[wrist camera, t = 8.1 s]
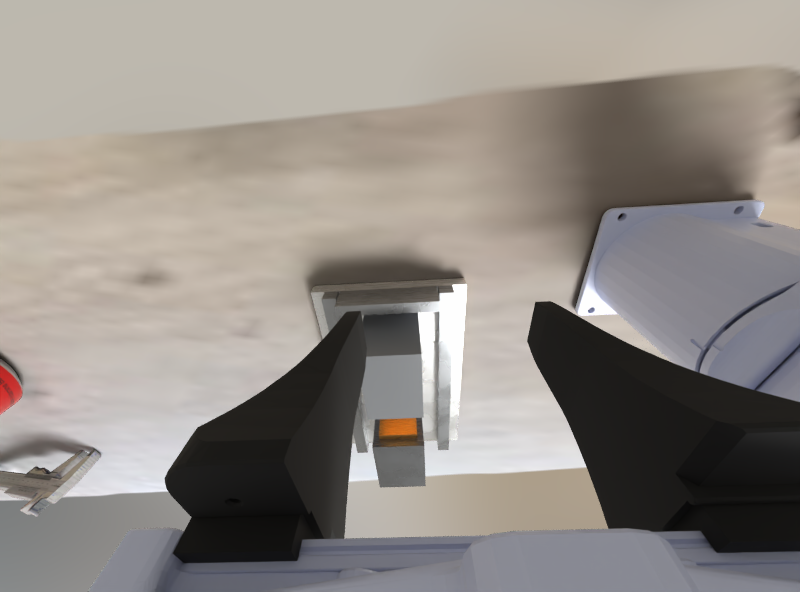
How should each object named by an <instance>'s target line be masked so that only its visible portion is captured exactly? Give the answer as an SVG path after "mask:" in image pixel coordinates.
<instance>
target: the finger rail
mask: <svg viewBox="0 0 800 592" xmlns="http://www.w3.org/2000/svg"><path fill="white" fill-rule="evenodd" d="M466 290H467V284H466V281H465V279H464V278H452V279H433V280H415V281H396V282H377V283H359V284H340V285H321V286H314V287H313V289H312V291H311V296H312V300H313V304H314V308H315V311H316V315H317V319H318V323H319V327H320V331H321V335H322V339H324V337H325V336H326V335H327V334H328V333H329V332H330V331H331V329H332V328H333V327H334V326H335V325H336V323H337V322H338V321H339V320H340V319H341V317H342V316H343V315H344V314H345V313H346V312H349V311H361V315H362V321H363V317H364V315H383V314H403V313H418V319H419V331H420V343H421V354H422V383H423V413H424V418H401V419H374V420H368V419H367V413H366V408H365V403H364V397H363V392H362V388H361V393H360V397H359V402H358V407H357V412H356V416H355V422H354V429H353V438H352V443H356V447H357V451H358V453H363V452H368V445H369V443H373V453H374V458H375V463H376V469H377V474H378V479H379V484H380V487H408V486H425V457H424V441H437V443H438V450H448V447H449V440H457V431H458V415H459V400H460V384H461V368H462V353H463V337H464V321H465V306H466Z"/></svg>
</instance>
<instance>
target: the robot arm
mask: <svg viewBox="0 0 800 592" xmlns="http://www.w3.org/2000/svg"><path fill="white" fill-rule="evenodd" d="M764 206H765V205H764V202H763V201H759V200H740V201H724V202H707V203H691V204H674V205H658V206H642V207H625V208H612V209H609V210H607V211H606V212H605V213H604V215H603V217H602V220H601V224H600V227H599V230H598V234H597V237H596V240H595V244H594V247H593V250H592V254H591V257H590V261H589V264H588V267H587V271H586V274H585V277H584V281H583V284H582V287H581V291H580V294H579V297H578V301H577V304H576V308H575V311H576V313H577V314H578V315H581V316H587V315H607V314H619V315H620V316H621V317H622V318H623V319H624V320H625V321H626V322H628V323H629V324H630V325H631V326H632V327H633V328H634V329H635V330H637V331H638V332H639V333H640V334H641V335H642V336H643V337H644V338H646V339H647V340H648V341H649V342H650V343H651V344H652V345H653V346H655V347H656V348H657V349H658V350H659V351H660V352H661V353H662V354H664V355H665V356H666V357H667V358H668V359H669V360H670V361H671V362H669V361H667V360H664V359H662V358H659V357H657V356H655V355H653V354H650V353H648V352H646V351H643V350H641V349H639V348H637V347H635V346H632V345H630V344H628V343H626V342H624V341H622V340H620V339H618V338H616V337H614V336H612V335H610V334H609V333H607V332H605V331H603V330H601V329H599V328H598V327H596V326H594V325H592V324H590V323H589V322H587V321H585V320H584V319H582V318H580V317H578V316H577V315H575V314H573V313H571V312H570V311H568V310H566V309H564V308H563V307H561V306H559V305H557V304H555V303H553V302H551V301H548V302H535V307H534V311H533V316H532V321H531V326H530V330H529V335H528V340H527V342H528V344H529V347H530V350H531V353H532V355H533V358H534V360H535V362H536V364H537V366H538V368H539V370H540V372H541V374H542V375H543V377H544V379H545V381H546V382H547V384H548V386H549V388H550V390H551V391H552V393H553V395H554V397H555V398H556V400H557V402H558V404H559V405H560V407H561V409H562V411H563V413H564V415H565V417H566V419H567V421H568V423H569V425H570V428H571V430H572V432H573V435H574V437H575V439H576V442H577V444H578V446H579V449H580V451H581V454H582V456H583V459H584V461H585V464H586V466H587V469H588V471H589V474H590V477H591V480H592V482H593V485H594V488H595V490H596V493H597V496H598V499H599V502H600V504H601V507H602V511H603V513H604V516H605V520H606V523H607V526H608V529H581V530H580V529H578V530H534V531H510V532H503V533H495V534H490V535H488V536H443V537H398V538H355V539H354V538H352V539H344V533H345V518H346V504H347V492H348V479H349V468H350V458H351V448H352V438H353V429H354V422H355V416H356V412H357V407H358V402H359V397H360V393H361V388H362V383H363V378H364V373H365V366H366V354H367V346H366V340H365V333H364V327H363V321H362V315H361V311H349V312H346V313H345V314H344V315H343V316H342V317H341V319H340V320H339V321H338V322H337V323H336V325H335V326H334V327H333V328H332V329H331V331H330V332H329V333H328V334H327V335H326V336H325V337H324V339H323V340H322V341H321V342H320V343H319V344H318V345H317V346H316V347H315V348H314V349H313V350H312V351H311V352H310V353H309V354H308V355H307V356H306V357H305V358H304V359H303V360H302V361H301V362H300V363H299V364H297V365H296V366H295V367H294V368H293V369H291V370H290V371H289V372H288V373H286V374H285V375H284V376H282V377H281V378H280V379H278V380H277V381H276V382H274V383H273V384H271V385H270V386H269V387H267V388H266V389H265V390H263V391H262V392H260V393H258V394H257V395H255V396H254V397H252V398H251V399H249V400H247V401H246V402H244V403H242V404H241V405H239V406H237V407H236V408H234V409H232V410H230V411H228V412H227V413H225V414H223V415H221V416H219V417H217V418H215V419H213V420H211V421H209V422H208V423H206V424H204V425H202V426H200V427H198V428H197V429H196V431H195V432H194V433H193V435H192V436H191V438H190V439H189V441H188V442H187V444H186V445H185V447H184V448H183V450H182V451H181V453H180V454H179V456H178V457H177V459H176V460H175V462H174V463H173V465H172V466H171V468H170V469H169V471H168V472H167V475H166V477H165V484H166V488H167V490H168V491H169V493H170V494H171V496H172V497H173V498H174V499H175V500H176V501H177V502H178V503H179V504H180V505H181V506H182V507H183V509H184V510H185V511H186V512H187V513H188V514H189V515H190V516H191V517H192V518H191V520H190V522H189V523H188V525H187V527H186V529H185V531H182V530H179V529H175V528H138V529H131V530H129V531H128V532H127V533H126V535H125V536H124V538H123V539H122V541H121V542H120V544H119V545H118V547H117V548H116V550H115V551H114V553H113V554H112V556H111V557H110V559H109V560H108V562H107V563H106V565H105V566H104V568H103V569H102V571H101V572H100V574H99V575H98V577H97V578H96V580H95V581H94V583H93V585H92V586H91V587H90V589H89V590H88V592H800V230H799V229H795V228H792V227H788V226H784V225H781V224H777V223H773V222H770V221H766V220H762V219H759V218H758V217H759V216H760V214H761V212H762V210H763V208H764ZM736 208H737V209H736ZM735 209H736V210H735ZM734 210H735V211H734ZM622 213H623V215H622V217H621V218H620V219H618V216H619V215H620V214H622ZM591 307H592V308H591ZM589 308H591V309H590V310H588V309H589Z"/></svg>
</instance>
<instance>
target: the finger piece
mask: <svg viewBox="0 0 800 592" xmlns="http://www.w3.org/2000/svg"><path fill="white" fill-rule="evenodd" d="M363 327H364V333H365V340H366V346H367V354H366V366H365V373H364V378H363V383H362V392H363V397H364V403H365V408H366V413H367V419H368V420H374V419H401V418H424V413H423V383H422V354H421V343H420V331H419V319H418V313H403V314H383V315H364V317H363Z"/></svg>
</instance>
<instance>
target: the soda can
mask: <svg viewBox="0 0 800 592" xmlns="http://www.w3.org/2000/svg"><path fill="white" fill-rule="evenodd" d="M22 394H23V388H22V384H21V382H20V380H19V378H18V376H17V374H16V372H15V371H14V370H13V369H12V368H11V367H10V366H9V365H8V364H7V363H6V362H4V361H3V360H2V359H0V415H1V414H2V413H3V412H5V411H6V410H7V409H9V408H10V407H11V406H13V405H14V404H15V403H16V402H18V401H19V400H20V399H21V397H22Z"/></svg>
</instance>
